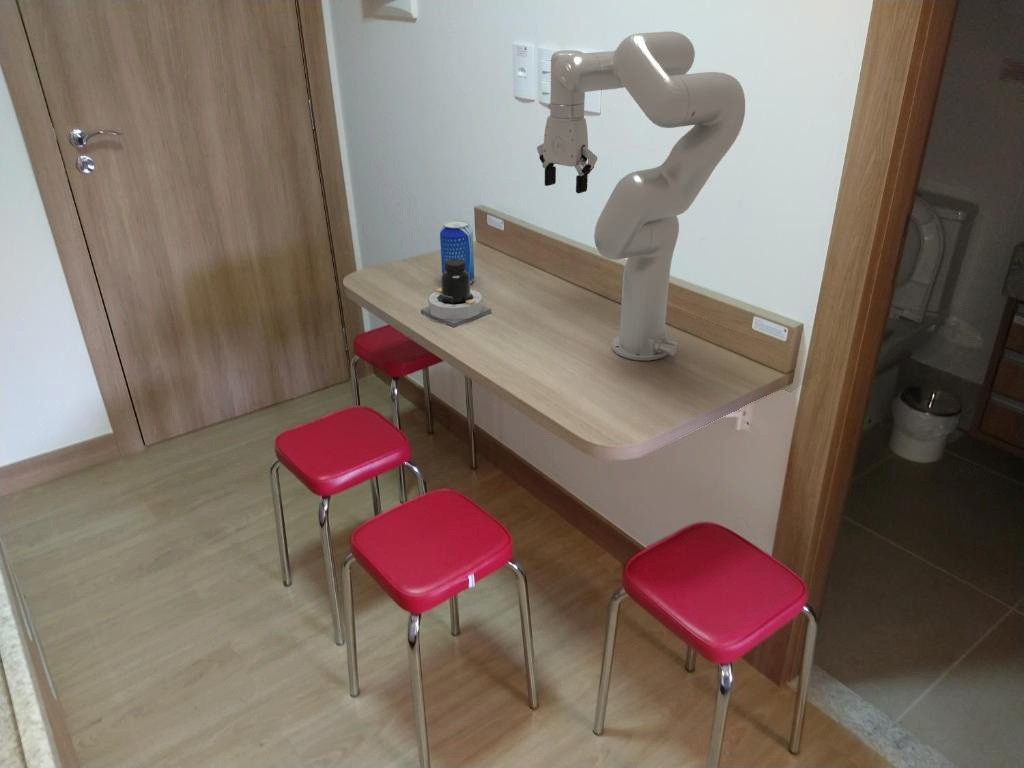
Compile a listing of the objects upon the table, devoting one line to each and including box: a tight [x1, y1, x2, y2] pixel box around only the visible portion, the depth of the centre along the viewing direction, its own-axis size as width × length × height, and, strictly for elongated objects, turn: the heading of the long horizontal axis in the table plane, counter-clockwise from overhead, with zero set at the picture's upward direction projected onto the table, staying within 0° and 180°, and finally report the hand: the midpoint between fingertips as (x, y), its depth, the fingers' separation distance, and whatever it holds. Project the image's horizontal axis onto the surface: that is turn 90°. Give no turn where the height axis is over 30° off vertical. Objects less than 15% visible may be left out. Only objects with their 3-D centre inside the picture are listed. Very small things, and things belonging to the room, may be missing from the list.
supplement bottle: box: [440, 259, 471, 305], centre depth 188 cm, size 7×7×12 cm
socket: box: [420, 287, 492, 328], centre depth 190 cm, size 12×12×5 cm
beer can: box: [439, 219, 475, 285], centre depth 206 cm, size 8×8×16 cm
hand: (565, 188), depth 183 cm, fingers open, 9 cm apart
